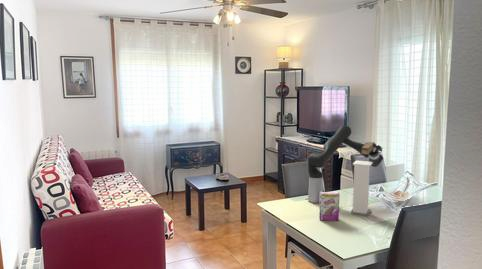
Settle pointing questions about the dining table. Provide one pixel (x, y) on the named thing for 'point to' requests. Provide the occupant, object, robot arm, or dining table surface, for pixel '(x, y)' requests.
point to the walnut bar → (367, 148)
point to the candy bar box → (329, 206)
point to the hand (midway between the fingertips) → (370, 144)
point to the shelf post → (361, 188)
